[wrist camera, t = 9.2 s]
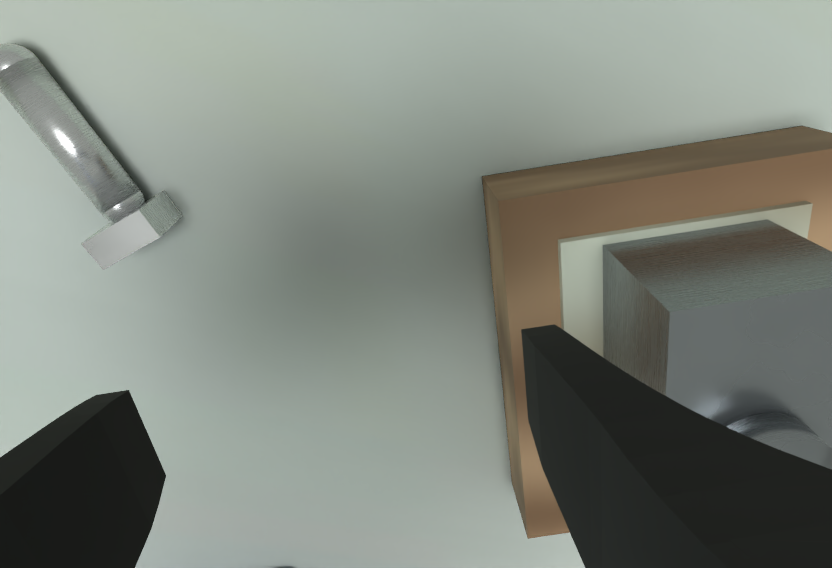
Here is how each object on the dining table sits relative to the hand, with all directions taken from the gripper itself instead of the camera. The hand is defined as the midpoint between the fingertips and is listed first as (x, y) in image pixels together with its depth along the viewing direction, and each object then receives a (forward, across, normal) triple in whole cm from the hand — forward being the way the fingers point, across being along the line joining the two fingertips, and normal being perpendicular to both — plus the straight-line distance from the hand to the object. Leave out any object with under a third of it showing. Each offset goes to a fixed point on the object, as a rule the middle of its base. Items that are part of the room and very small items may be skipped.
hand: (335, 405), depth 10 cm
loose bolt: (+10, +8, -4) cm, 14 cm away
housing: (+7, -10, +6) cm, 14 cm away
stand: (+10, -10, +6) cm, 16 cm away
